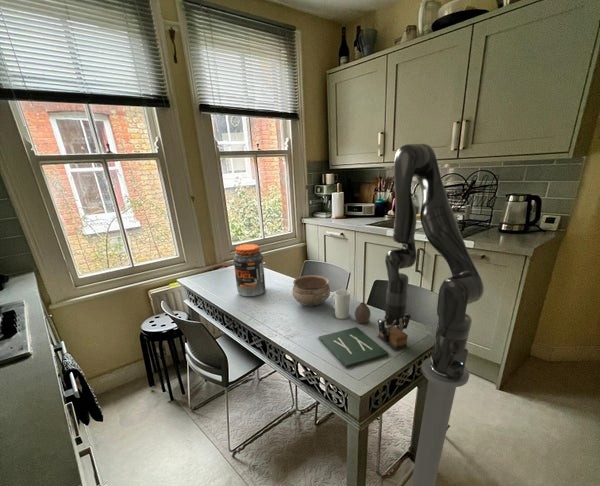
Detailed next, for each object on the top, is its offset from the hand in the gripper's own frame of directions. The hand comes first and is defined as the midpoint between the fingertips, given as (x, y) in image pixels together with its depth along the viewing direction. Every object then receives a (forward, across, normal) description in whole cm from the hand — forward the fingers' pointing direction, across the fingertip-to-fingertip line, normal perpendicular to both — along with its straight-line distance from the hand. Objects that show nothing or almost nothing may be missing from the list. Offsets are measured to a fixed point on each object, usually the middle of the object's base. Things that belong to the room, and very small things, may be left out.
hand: (392, 339), depth 125 cm
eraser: (+1, 0, 0) cm, 1 cm away
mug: (+1, -7, +30) cm, 31 cm away
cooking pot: (+1, -14, +47) cm, 49 cm away
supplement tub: (+1, -37, +77) cm, 85 cm away
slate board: (+1, -16, +4) cm, 17 cm away
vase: (+1, -1, +20) cm, 20 cm away
